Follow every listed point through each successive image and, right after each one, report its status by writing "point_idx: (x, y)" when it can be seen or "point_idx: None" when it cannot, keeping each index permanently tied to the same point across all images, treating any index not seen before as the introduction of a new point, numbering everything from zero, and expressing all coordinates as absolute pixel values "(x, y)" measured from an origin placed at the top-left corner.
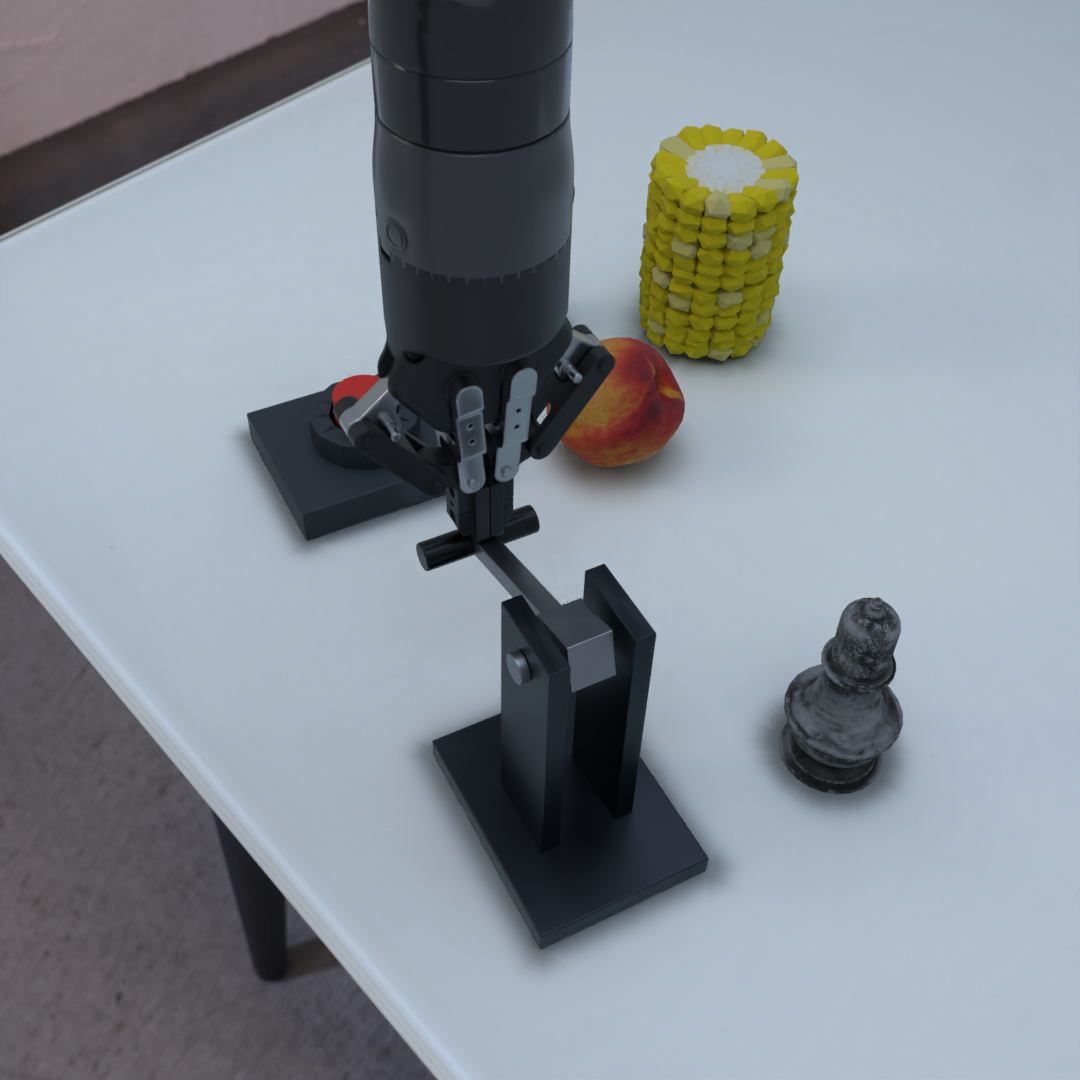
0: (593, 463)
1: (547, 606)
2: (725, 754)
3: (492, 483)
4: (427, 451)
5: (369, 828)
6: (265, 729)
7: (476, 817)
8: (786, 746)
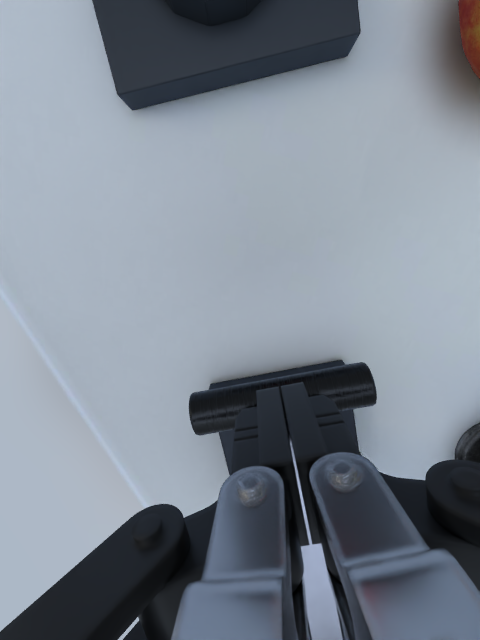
0: (478, 76)
1: (324, 632)
2: (418, 435)
3: (319, 540)
4: (170, 604)
5: (156, 427)
6: (87, 330)
7: (226, 458)
8: (465, 444)
